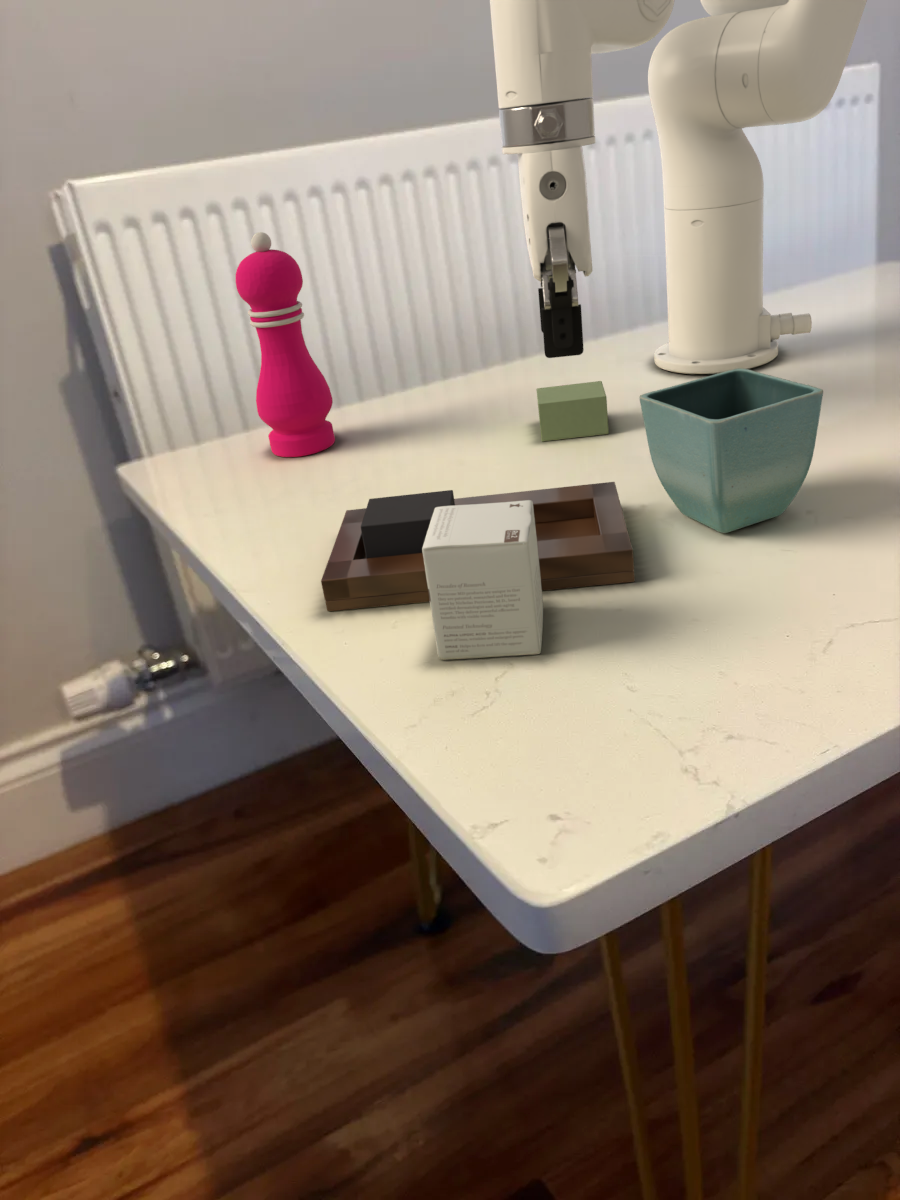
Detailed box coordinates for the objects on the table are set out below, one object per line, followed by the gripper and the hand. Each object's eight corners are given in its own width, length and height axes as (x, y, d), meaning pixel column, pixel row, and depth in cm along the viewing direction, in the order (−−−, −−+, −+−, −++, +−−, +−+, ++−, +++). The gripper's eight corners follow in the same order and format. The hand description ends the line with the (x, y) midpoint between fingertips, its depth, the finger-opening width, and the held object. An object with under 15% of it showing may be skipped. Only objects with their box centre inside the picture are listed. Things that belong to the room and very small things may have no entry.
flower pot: (641, 513, 75) (635, 393, 71) (741, 483, 77) (741, 365, 73) (715, 553, 67) (712, 422, 63) (823, 518, 70) (827, 389, 66)
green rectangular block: (604, 417, 96) (601, 380, 94) (608, 434, 91) (606, 395, 90) (539, 424, 96) (536, 388, 95) (541, 441, 92) (537, 403, 90)
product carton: (448, 612, 65) (432, 505, 61) (544, 606, 64) (533, 496, 61) (437, 662, 59) (419, 547, 56) (542, 656, 59) (530, 538, 55)
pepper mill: (327, 457, 96) (283, 234, 87) (255, 461, 98) (205, 243, 89) (349, 432, 102) (310, 221, 93) (281, 436, 104) (237, 230, 95)
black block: (459, 534, 74) (452, 489, 72) (456, 564, 69) (449, 517, 68) (377, 543, 74) (368, 498, 73) (369, 573, 70) (360, 526, 68)
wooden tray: (616, 510, 76) (614, 481, 75) (634, 582, 65) (633, 549, 64) (351, 537, 78) (346, 509, 77) (327, 612, 67) (320, 580, 66)
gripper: (603, 126, 74) (613, 361, 82) (586, 121, 90) (596, 319, 97) (500, 139, 75) (519, 371, 82) (501, 131, 90) (517, 327, 98)
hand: (561, 343), depth 90 cm, fingers open, 9 cm apart
